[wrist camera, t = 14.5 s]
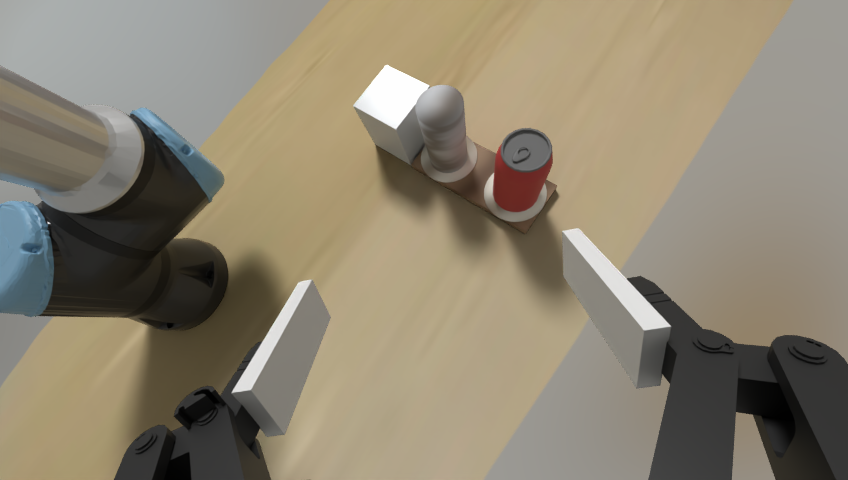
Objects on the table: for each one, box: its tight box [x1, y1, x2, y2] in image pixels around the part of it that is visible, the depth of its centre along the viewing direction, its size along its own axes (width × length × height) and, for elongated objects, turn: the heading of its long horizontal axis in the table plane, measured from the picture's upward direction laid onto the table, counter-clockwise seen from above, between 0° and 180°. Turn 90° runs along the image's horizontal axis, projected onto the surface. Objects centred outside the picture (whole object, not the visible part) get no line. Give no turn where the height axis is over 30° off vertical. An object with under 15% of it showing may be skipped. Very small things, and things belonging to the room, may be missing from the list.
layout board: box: [411, 85, 557, 234], centre depth 43 cm, size 21×9×13 cm, turn 54°
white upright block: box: [353, 65, 430, 165], centre depth 49 cm, size 8×8×10 cm
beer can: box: [493, 128, 553, 212], centre depth 41 cm, size 7×7×12 cm
